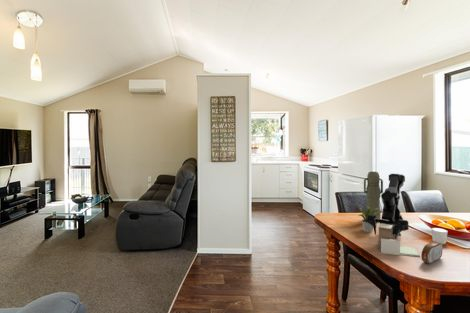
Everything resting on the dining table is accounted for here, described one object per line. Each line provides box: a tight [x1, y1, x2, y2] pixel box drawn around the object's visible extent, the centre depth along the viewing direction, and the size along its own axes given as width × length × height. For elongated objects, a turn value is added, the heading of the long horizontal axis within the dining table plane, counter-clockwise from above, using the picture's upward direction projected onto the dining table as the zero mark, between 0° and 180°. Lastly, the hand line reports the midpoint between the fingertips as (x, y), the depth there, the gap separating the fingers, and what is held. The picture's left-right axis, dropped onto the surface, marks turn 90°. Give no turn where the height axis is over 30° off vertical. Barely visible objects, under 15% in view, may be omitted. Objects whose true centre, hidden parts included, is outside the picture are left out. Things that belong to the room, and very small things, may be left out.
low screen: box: [380, 238, 401, 256], centre depth 123 cm, size 2×8×7 cm, turn 70°
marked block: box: [378, 222, 394, 251], centre depth 129 cm, size 6×6×12 cm
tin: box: [420, 240, 444, 264], centre depth 115 cm, size 15×3×8 cm, turn 118°
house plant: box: [357, 205, 379, 233], centre depth 154 cm, size 14×14×16 cm
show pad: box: [399, 245, 421, 258], centre depth 125 cm, size 9×9×1 cm
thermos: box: [363, 171, 384, 224], centre depth 174 cm, size 9×12×35 cm
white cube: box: [431, 227, 448, 245], centre depth 136 cm, size 7×7×7 cm
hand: (385, 236), depth 128 cm, fingers open, 9 cm apart
